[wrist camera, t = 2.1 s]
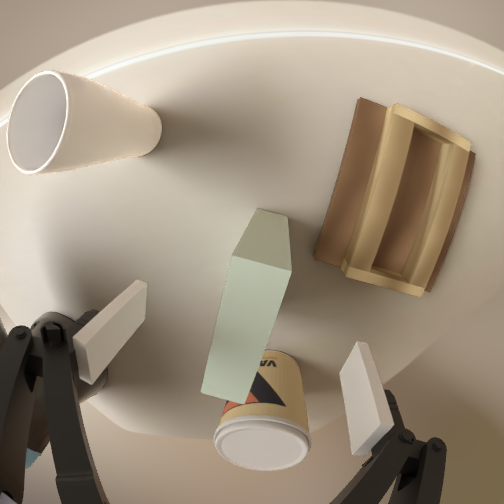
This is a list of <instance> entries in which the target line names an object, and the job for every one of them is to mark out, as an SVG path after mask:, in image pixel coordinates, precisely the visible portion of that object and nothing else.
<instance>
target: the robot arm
mask: <svg viewBox="0 0 504 504" xmlns="http://www.w3.org/2000/svg"><path fill="white" fill-rule="evenodd" d="M147 287H148V283H146V282H143V281H140V280H138V279H137V280H136V281H134V282H133V283H132V284H131V285H130V286H129V287H128V288H126V289H125V290H124V291H123V292H122V293H121V294H120V295H118V296H117V297H116V298H115V299H114V300H113V301H112V302H110V303H109V304H108V305H107V306H106V307H105V308H104V309H103V310H102V311H100V312H98V311H96V310H94V309H93V310H91V311H88V312H86V313H84V314H83V315H82V316H81V317H80V318H79V319H77V320H76V322H73V321H72V320H70V319H69V318H67V317H65V316H64V315H61V314H59V313H55V312H48V313H45V314H43V315H42V316H41V317H39V318H38V319H37V320H36V321H35V322H34V323H33V325H32V326H31V329H29V328H28V327H26V326H16V327H14V328H13V329H12V330H11V331H10V333H9V335H7V333H6V330H5V328H4V326H3V323H2V321H1V319H0V504H22V499H23V492H24V476H25V469H27V468H29V467H30V466H31V465H32V463H34V461H35V460H36V459H37V457H38V456H41V453H42V452H43V450H44V449H45V447H46V446H47V444H48V443H49V441H50V444H51V449H52V454H53V459H54V463H55V468H56V473H57V477H56V485H57V489H58V493H59V496H60V499H61V503H62V504H110V503H109V501H108V499H107V497H106V495H105V492H104V490H103V487H102V485H101V482H100V479H99V476H98V473H97V470H96V467H95V464H94V461H93V457H92V454H91V450H90V447H89V443H88V440H87V436H86V432H85V428H84V424H83V420H82V415H81V410H80V406H79V404H80V403H82V402H84V401H85V400H87V399H89V398H90V397H92V396H94V395H95V394H97V393H98V392H99V391H100V390H101V389H102V387H103V386H104V384H105V383H106V381H107V377H108V372H107V365H108V364H109V363H110V362H111V360H112V359H113V358H114V357H115V355H116V354H117V353H118V352H119V351H120V349H121V348H122V347H123V346H124V344H125V343H126V342H127V341H128V340H129V338H130V337H131V336H132V335H133V333H134V332H135V331H136V330H137V329H138V327H139V326H140V325H141V324H142V323H143V321H144V320H145V312H146V298H147ZM339 375H340V380H341V386H342V392H343V398H344V404H345V410H346V416H347V422H348V430H349V436H350V443H351V451H352V455H356V456H365V455H366V454H367V453H368V452H369V451H370V450H371V451H372V456H371V457H370V458H369V459H368V460H367V461H366V462H365V463H364V464H363V465H362V466H363V467H362V468H361V469H360V471H359V472H358V473H357V474H356V475H355V476H354V478H353V479H352V480H351V481H350V482H349V483H348V485H347V486H346V487H345V488H344V489H343V490H342V491H341V492H340V493H339V495H338V496H337V497H336V498H335V499H334V500H333V501H332V502H331V503H330V504H378V503H379V502H380V501H381V499H382V498H383V496H384V495H385V493H386V492H387V491H388V489H389V487H390V486H391V484H392V483H393V481H394V480H395V478H396V477H397V478H396V482H395V485H394V488H393V491H392V494H391V497H390V500H389V503H388V504H439V503H440V497H441V492H442V485H443V479H444V470H445V462H446V451H447V449H446V445H445V443H444V442H443V441H442V440H441V439H439V438H436V437H434V438H431V439H430V440H429V441H428V442H427V443H426V442H423V441H419V440H416V439H415V436H414V434H413V433H412V432H411V431H410V430H408V429H405V427H404V424H403V421H402V418H401V415H400V412H399V410H398V406H397V405H396V404H397V403H396V400H395V397H394V396H393V394H392V393H391V392H390V390H384V389H383V386H382V383H381V380H380V377H379V374H378V371H377V368H376V366H375V363H374V360H373V357H372V354H371V351H370V349H369V346H368V343H364V342H360V341H357V342H356V343H355V345H354V347H353V349H352V351H351V353H350V355H349V357H348V358H347V360H346V362H345V364H344V366H343V367H342V369H341V371H340V373H339Z"/></svg>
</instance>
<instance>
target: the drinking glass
mask: <svg viewBox="0 0 504 504" xmlns="http://www.w3.org/2000/svg"><path fill="white" fill-rule="evenodd" d="M161 133H162V124H161V120H160V117H159V116H158V114H157V113H156V112H155V111H154V110H153V109H151V108H149V107H147V106H144V105H141V104H139V103H137V102H135V101H133V100H131V99H130V98H128V97H126V96H124V95H122V94H120V93H118V92H116V91H114V90H112V89H110V88H108V87H106V86H104V85H102V84H100V83H98V82H96V81H93V80H91V79H88V78H85V77H82V76H78V75H75V74H71V73H66V72H60V71H55V70H46V71H42V72H40V73H38V74H36V75H35V76H33V77H32V78H31V79H30V80H29V81H28V82H27V83H26V84H25V85H24V86H23V88H22V89H21V90H20V92H19V94H18V95H17V97H16V99H15V101H14V103H13V106H12V109H11V112H10V115H9V120H8V125H7V146H8V151H9V155H10V158H11V160H12V162H13V164H14V165H15V167H16V168H17V169H18V170H19V171H20V172H22V173H24V174H27V175H37V174H49V173H58V172H64V171H70V170H76V169H80V168H84V167H88V166H92V165H96V164H100V163H105V162H109V161H114V160H118V159H123V158H129V157H140V156H143V155H146V154H148V153H149V152H151V151H152V150H153V149H154V148H155V147H156V145H157V144H158V142H159V140H160V137H161Z"/></svg>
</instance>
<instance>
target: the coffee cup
mask: <svg viewBox="0 0 504 504" xmlns="http://www.w3.org/2000/svg"><path fill="white" fill-rule="evenodd" d="M214 444H215V446H216V450H217V452H218V453H219V454H220V456H221V457H223V458H224V459H225V460H227V461H228V462H230V463H232V464H234V465H236V466H239V467H242V468H246V469H251V470H258V471H273V470H281V469H285V468H289V467H291V466H294V465H296V464H298V463H299V462H301V461H302V460H303V459H304V458H305V457H306V455H307V454H308V452H309V450H310V448H311V437H310V434H309V428H308V419H307V412H306V404H305V397H304V391H303V384H302V378H301V373H300V368H299V366H298V364H297V362H296V361H295V360H294V359H293V358H292V357H290V356H289V355H287V354H285V353H283V352H279V351H274V350H265V351H264V354H263V357H262V359H261V362H260V365H259V367H258V370H257V373H256V375H255V378H254V381H253V383H252V386H251V388H250V391H249V394H248V396H247V399H246V401H245V404H240V403H236V402H232V401H228V400H227V402H226V405H225V408H224V411H223V414H222V417H221V420H220V423H219V426H218V428H217V429H216V431H215V434H214Z"/></svg>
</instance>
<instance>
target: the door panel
mask: <svg viewBox="0 0 504 504" xmlns="http://www.w3.org/2000/svg"><path fill="white" fill-rule="evenodd" d="M291 273H292V266H291V252H290V239H289V227H288V217H287V216H283V215H280V214H276V213H273V212H269V211H265V210H261V209H258V208H257V209H256V211H255V213H254V215H253V217H252V219H251V220H250V222H249V224H248V226H247V228H246V230H245V232H244V233H243V235H242V237H241V239H240V241H239V243H238V245H237V246H236V248H235V250H234V252H233V254H232V257H231V261H230V265H229V269H228V273H227V278H226V282H225V286H224V290H223V295H222V299H221V303H220V307H219V312H218V316H217V320H216V325H215V329H214V334H213V338H212V343H211V347H210V351H209V356H208V360H207V365H206V370H205V374H204V379H203V383H202V388H201V393H203V394H207V395H210V396H214V397H217V398H221V399H224V400H228V401H232V402H236V403H240V404H245V401H246V399H247V396H248V394H249V391H250V388H251V386H252V383H253V381H254V378H255V375H256V373H257V370H258V367H259V365H260V362H261V359H262V357H263V354H264V351H265V348H266V346H267V343H268V340H269V337H270V334H271V332H272V329H273V326H274V323H275V320H276V317H277V314H278V312H279V309H280V306H281V303H282V300H283V297H284V294H285V291H286V288H287V285H288V282H289V279H290V276H291Z"/></svg>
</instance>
